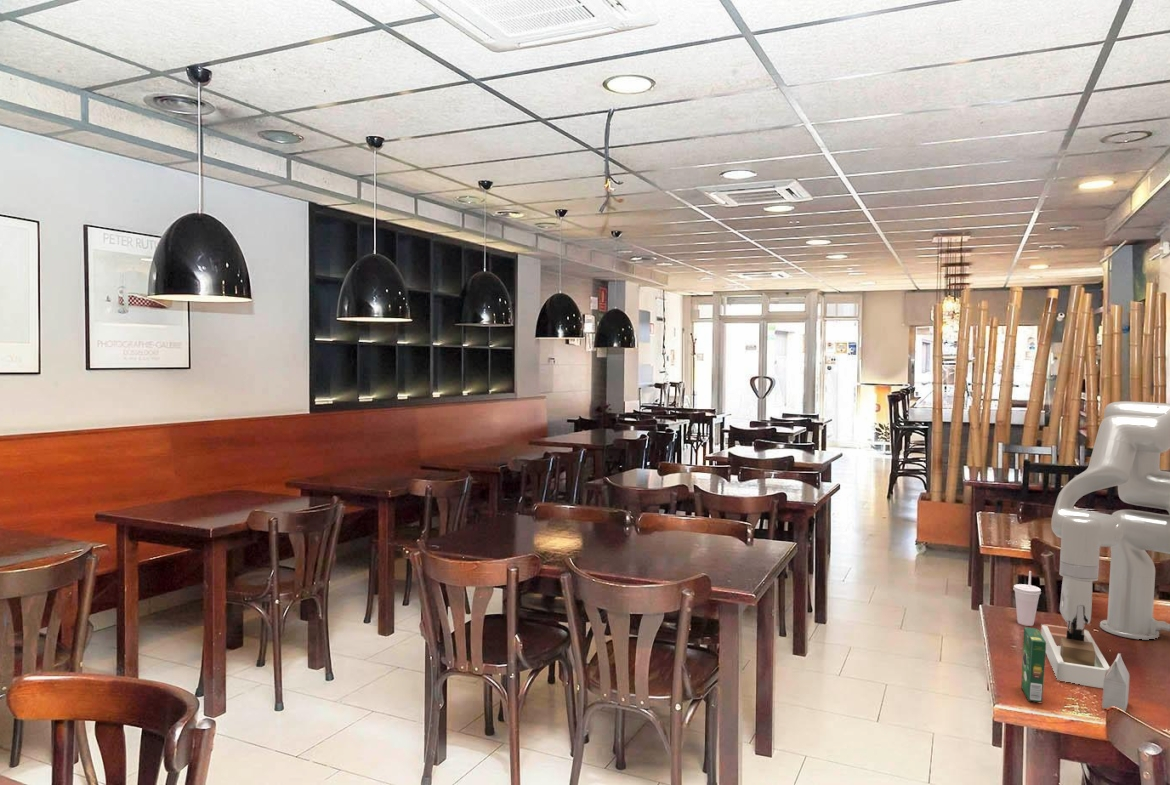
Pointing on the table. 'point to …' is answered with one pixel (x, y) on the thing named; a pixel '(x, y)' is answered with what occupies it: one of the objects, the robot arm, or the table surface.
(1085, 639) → the box
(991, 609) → the table surface
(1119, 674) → the milk carton
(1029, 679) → the coffee box
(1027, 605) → the smoothie
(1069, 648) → the block
